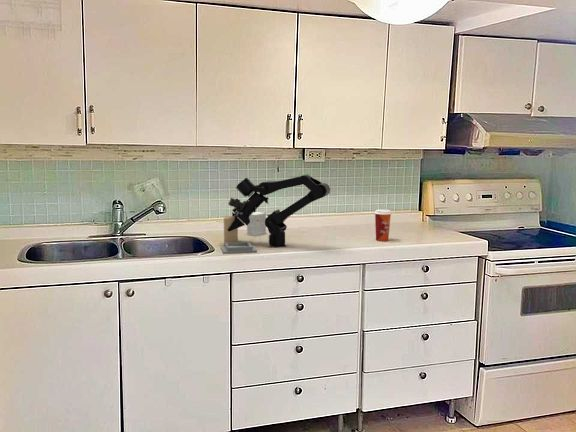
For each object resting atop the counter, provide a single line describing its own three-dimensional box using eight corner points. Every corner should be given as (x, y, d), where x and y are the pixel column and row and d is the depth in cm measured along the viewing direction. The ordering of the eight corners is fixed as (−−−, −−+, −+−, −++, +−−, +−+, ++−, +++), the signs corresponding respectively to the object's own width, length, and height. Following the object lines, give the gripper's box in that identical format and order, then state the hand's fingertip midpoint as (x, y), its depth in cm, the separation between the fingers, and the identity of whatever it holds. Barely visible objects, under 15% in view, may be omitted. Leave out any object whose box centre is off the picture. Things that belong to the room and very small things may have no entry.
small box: (257, 232, 280) (257, 211, 278) (266, 234, 276) (266, 212, 275) (246, 235, 274) (246, 213, 272) (255, 236, 270) (255, 214, 269)
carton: (236, 242, 253) (236, 216, 251) (237, 245, 248) (237, 218, 246) (224, 243, 252) (223, 216, 250) (225, 245, 246) (224, 218, 245)
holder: (252, 246, 247) (252, 241, 246) (256, 252, 235) (256, 247, 235) (220, 247, 244) (220, 242, 244) (223, 253, 232) (223, 248, 232)
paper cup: (384, 242, 257) (385, 212, 255) (370, 240, 262) (371, 210, 260) (393, 240, 262) (394, 210, 260) (379, 238, 268) (380, 208, 265)
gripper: (236, 189, 256) (212, 214, 255) (242, 193, 238) (216, 220, 237) (254, 206, 259) (230, 230, 258) (260, 211, 241) (234, 238, 240)
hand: (227, 229), depth 248 cm, fingers closed on carton, 5 cm apart
